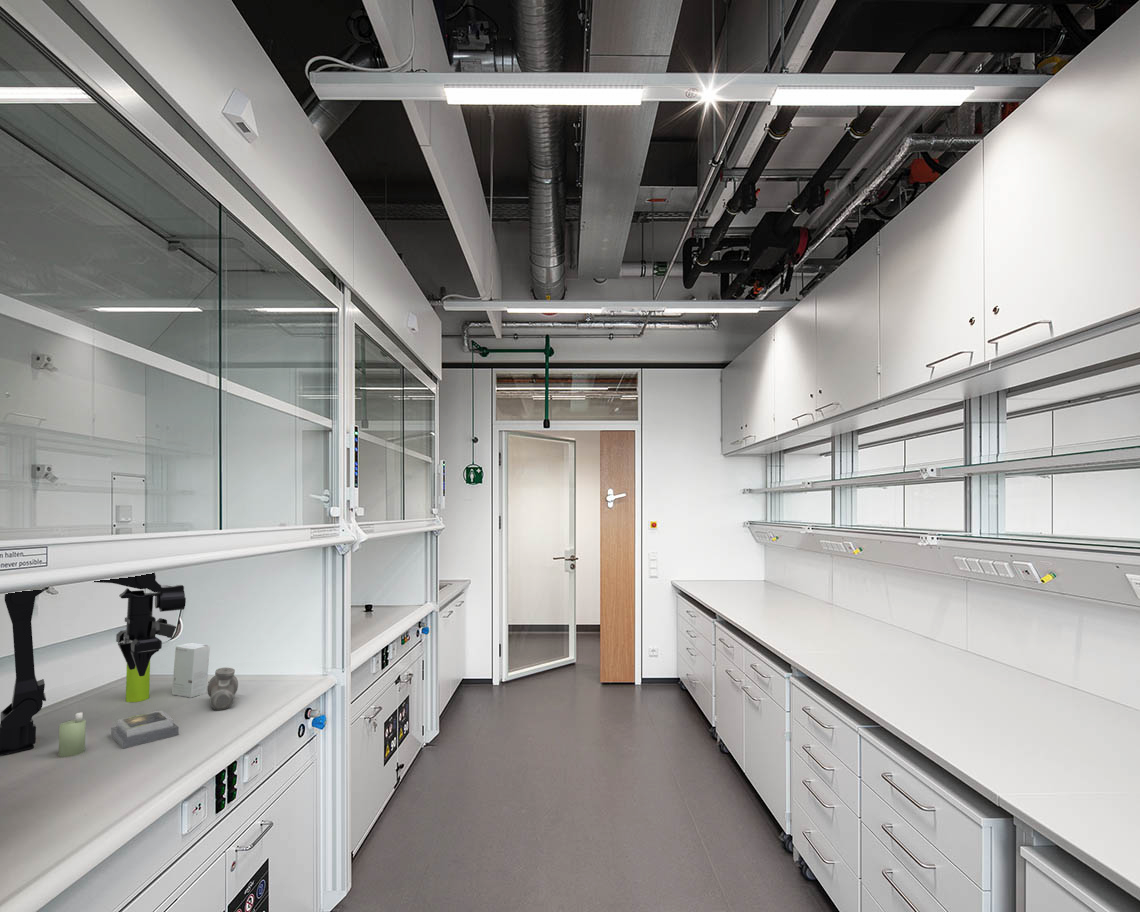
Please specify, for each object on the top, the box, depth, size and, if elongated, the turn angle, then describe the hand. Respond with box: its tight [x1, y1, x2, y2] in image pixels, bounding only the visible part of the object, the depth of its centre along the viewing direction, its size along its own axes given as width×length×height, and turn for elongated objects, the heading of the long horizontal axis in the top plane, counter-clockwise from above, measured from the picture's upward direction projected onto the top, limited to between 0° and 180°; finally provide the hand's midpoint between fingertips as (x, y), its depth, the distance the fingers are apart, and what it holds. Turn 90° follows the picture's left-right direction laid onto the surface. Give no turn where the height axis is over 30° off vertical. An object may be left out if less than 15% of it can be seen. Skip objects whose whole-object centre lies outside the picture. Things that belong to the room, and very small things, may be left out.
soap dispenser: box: [125, 660, 151, 703], centre depth 196 cm, size 6×7×20 cm
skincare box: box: [171, 642, 211, 699], centre depth 201 cm, size 8×6×15 cm
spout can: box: [57, 711, 87, 758], centre depth 156 cm, size 5×5×9 cm
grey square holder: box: [110, 709, 180, 749], centre depth 167 cm, size 12×12×4 cm
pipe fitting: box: [207, 667, 239, 711], centre depth 190 cm, size 12×8×10 cm
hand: (136, 672), depth 175 cm, fingers open, 9 cm apart
